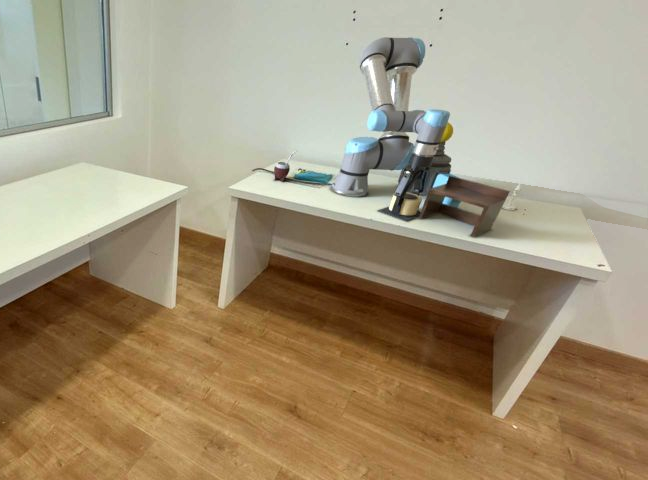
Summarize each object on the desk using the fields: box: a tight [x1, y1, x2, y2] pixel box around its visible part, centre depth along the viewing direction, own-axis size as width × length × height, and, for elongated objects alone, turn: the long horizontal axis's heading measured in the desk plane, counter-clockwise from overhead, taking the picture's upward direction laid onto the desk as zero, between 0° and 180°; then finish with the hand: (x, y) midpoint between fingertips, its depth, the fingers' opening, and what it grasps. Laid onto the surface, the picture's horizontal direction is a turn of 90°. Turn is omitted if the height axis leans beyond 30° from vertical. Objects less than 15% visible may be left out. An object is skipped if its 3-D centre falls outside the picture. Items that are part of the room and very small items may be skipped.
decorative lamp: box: [397, 122, 454, 197], centre depth 181 cm, size 19×19×30 cm
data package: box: [433, 173, 462, 208], centre depth 169 cm, size 12×4×12 cm, turn 6°
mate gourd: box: [273, 149, 299, 183], centre depth 194 cm, size 8×8×15 cm
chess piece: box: [501, 184, 521, 211], centre depth 168 cm, size 5×5×10 cm
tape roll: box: [388, 192, 423, 215], centre depth 162 cm, size 10×10×6 cm
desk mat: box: [377, 206, 421, 222], centre depth 165 cm, size 12×14×1 cm
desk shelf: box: [417, 175, 511, 238], centre depth 152 cm, size 20×13×15 cm, turn 32°
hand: (402, 210), depth 164 cm, fingers closed on tape roll, 10 cm apart
